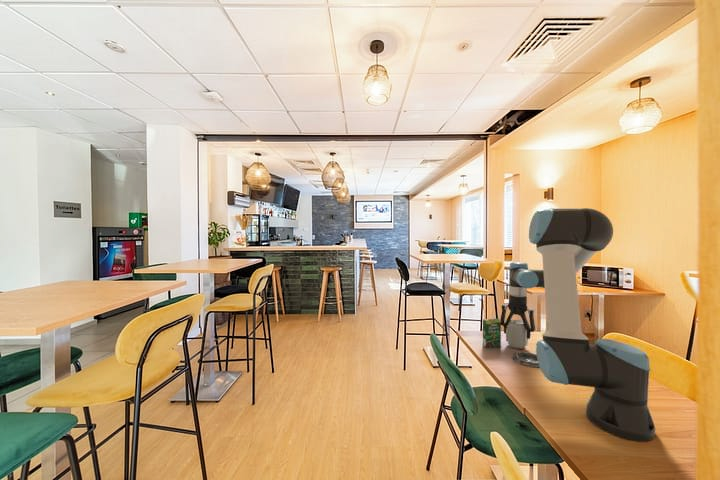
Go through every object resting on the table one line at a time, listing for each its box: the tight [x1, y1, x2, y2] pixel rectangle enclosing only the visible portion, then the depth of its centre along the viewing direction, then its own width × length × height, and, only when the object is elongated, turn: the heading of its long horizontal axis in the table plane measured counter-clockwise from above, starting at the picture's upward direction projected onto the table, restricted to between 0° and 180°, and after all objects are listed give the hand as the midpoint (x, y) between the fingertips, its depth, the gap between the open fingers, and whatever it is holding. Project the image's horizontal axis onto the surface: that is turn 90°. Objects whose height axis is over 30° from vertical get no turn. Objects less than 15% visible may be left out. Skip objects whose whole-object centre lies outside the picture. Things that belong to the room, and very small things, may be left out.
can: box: [507, 319, 526, 349], centre depth 142 cm, size 8×8×12 cm
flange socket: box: [511, 351, 541, 369], centre depth 128 cm, size 13×13×2 cm
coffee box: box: [482, 318, 502, 349], centre depth 142 cm, size 8×3×13 cm, turn 98°
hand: (516, 342), depth 142 cm, fingers closed on can, 7 cm apart
